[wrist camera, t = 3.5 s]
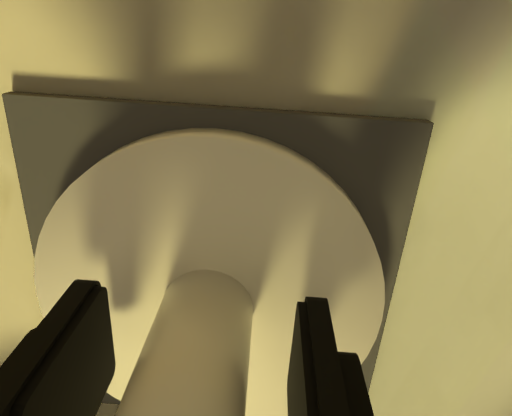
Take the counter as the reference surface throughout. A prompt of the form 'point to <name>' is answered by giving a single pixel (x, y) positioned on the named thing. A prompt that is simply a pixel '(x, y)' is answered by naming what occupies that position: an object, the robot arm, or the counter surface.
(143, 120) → the mat
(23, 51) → the counter surface
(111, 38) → the counter surface
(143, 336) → the lid
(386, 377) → the counter surface
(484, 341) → the counter surface
